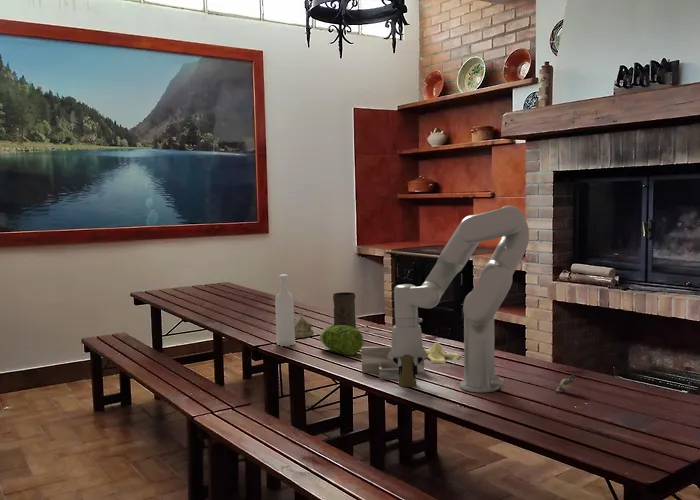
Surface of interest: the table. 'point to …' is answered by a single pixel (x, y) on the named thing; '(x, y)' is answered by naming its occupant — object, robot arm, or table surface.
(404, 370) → the olive rounded piece
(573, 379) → the vase
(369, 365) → the wall board holder
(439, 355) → the cloth
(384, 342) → the table surface
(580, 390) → the table surface
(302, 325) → the ceramic model
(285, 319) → the bottle
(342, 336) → the lettuce
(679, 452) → the table surface
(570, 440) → the table surface
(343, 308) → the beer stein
